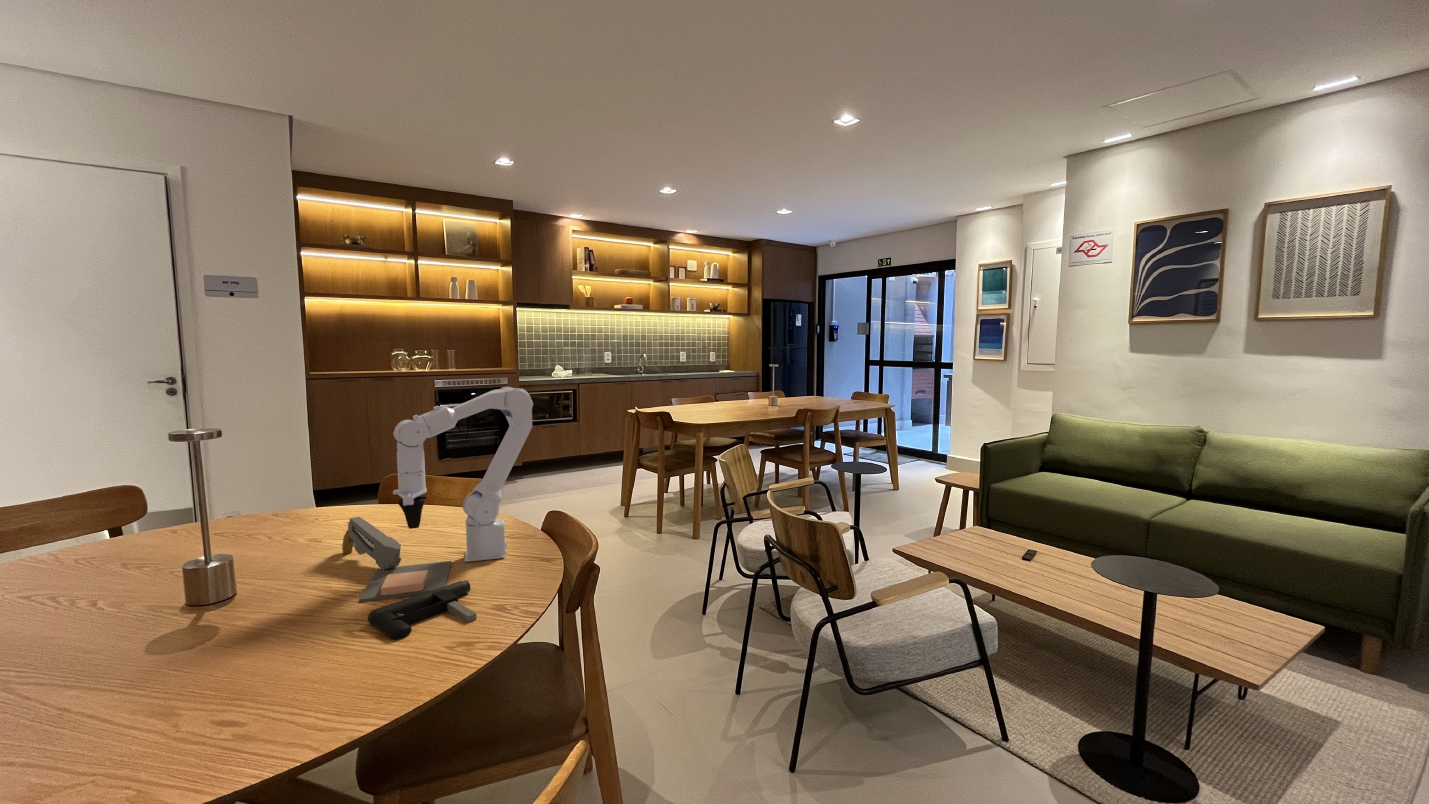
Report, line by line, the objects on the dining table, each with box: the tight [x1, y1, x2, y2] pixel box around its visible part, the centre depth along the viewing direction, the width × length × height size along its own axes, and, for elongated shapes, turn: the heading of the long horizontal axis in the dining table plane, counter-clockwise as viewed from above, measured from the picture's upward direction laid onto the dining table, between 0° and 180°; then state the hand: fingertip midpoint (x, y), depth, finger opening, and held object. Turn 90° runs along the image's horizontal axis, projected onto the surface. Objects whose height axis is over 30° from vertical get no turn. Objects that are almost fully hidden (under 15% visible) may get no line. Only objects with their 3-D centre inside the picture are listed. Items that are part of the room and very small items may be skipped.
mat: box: [358, 560, 452, 603], centre depth 133 cm, size 16×18×1 cm
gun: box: [341, 516, 402, 570], centre depth 144 cm, size 3×25×15 cm, turn 56°
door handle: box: [367, 580, 477, 641], centre depth 116 cm, size 3×20×16 cm
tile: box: [381, 570, 428, 596], centre depth 128 cm, size 8×2×8 cm
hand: (414, 527), depth 139 cm, fingers closed
